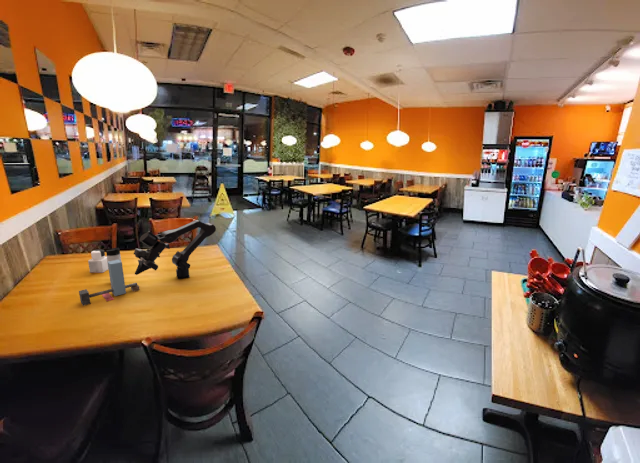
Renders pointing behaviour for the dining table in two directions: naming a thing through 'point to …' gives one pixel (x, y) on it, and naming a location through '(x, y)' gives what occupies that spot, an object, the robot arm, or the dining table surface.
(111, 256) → the travel mug
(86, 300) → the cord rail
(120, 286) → the sleeve
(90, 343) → the dining table surface
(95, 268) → the container
